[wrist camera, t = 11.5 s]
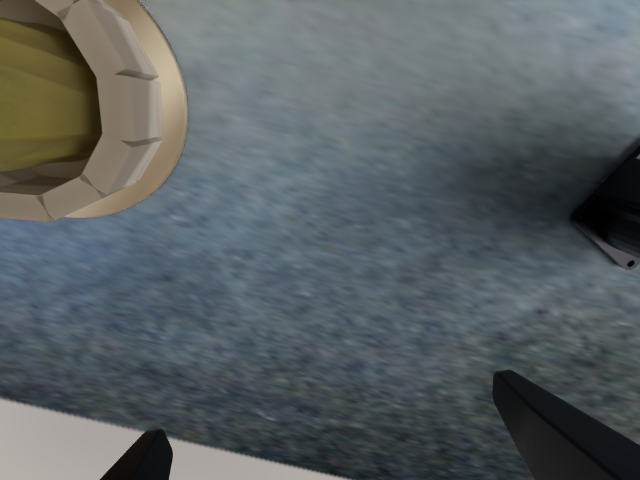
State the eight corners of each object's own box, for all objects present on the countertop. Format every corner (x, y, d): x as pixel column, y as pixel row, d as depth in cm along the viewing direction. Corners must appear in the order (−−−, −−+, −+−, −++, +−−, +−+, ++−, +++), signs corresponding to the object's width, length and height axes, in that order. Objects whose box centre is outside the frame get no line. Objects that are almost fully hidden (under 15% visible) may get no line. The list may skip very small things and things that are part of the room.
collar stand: (232, 71, 17) (213, 59, 13) (125, 251, 21) (82, 287, 16) (-25, -128, 14) (-160, -228, 10) (-107, 123, 17) (-235, 128, 13)
